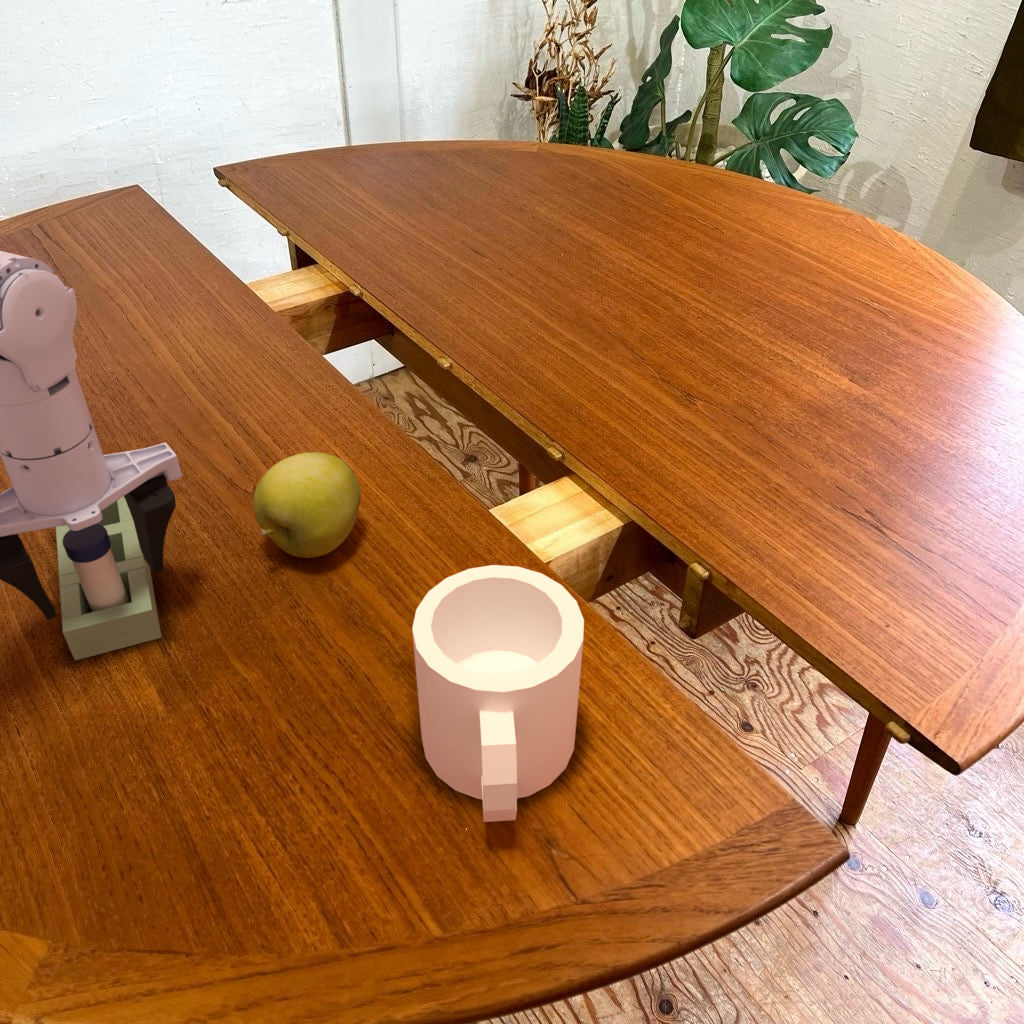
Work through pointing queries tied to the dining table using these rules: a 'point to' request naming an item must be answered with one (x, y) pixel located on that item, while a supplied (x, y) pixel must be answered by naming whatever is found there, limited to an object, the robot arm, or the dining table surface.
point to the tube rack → (115, 623)
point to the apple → (307, 503)
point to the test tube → (95, 567)
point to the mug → (498, 682)
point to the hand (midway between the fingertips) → (102, 587)
